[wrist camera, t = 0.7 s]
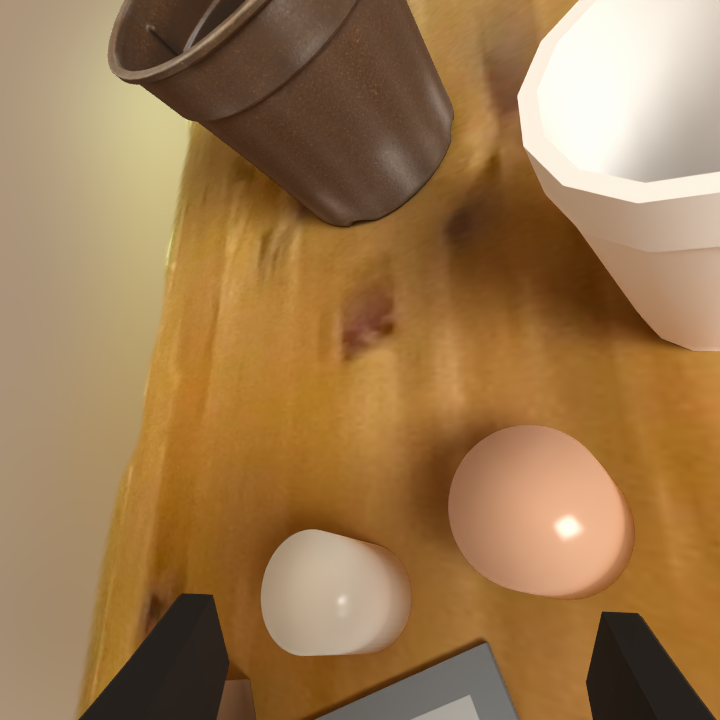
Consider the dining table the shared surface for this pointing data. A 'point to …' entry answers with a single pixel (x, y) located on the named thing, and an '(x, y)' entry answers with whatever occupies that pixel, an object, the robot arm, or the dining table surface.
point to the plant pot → (299, 92)
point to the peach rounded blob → (540, 514)
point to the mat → (440, 693)
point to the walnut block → (237, 701)
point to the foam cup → (637, 150)
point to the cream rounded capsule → (334, 595)
